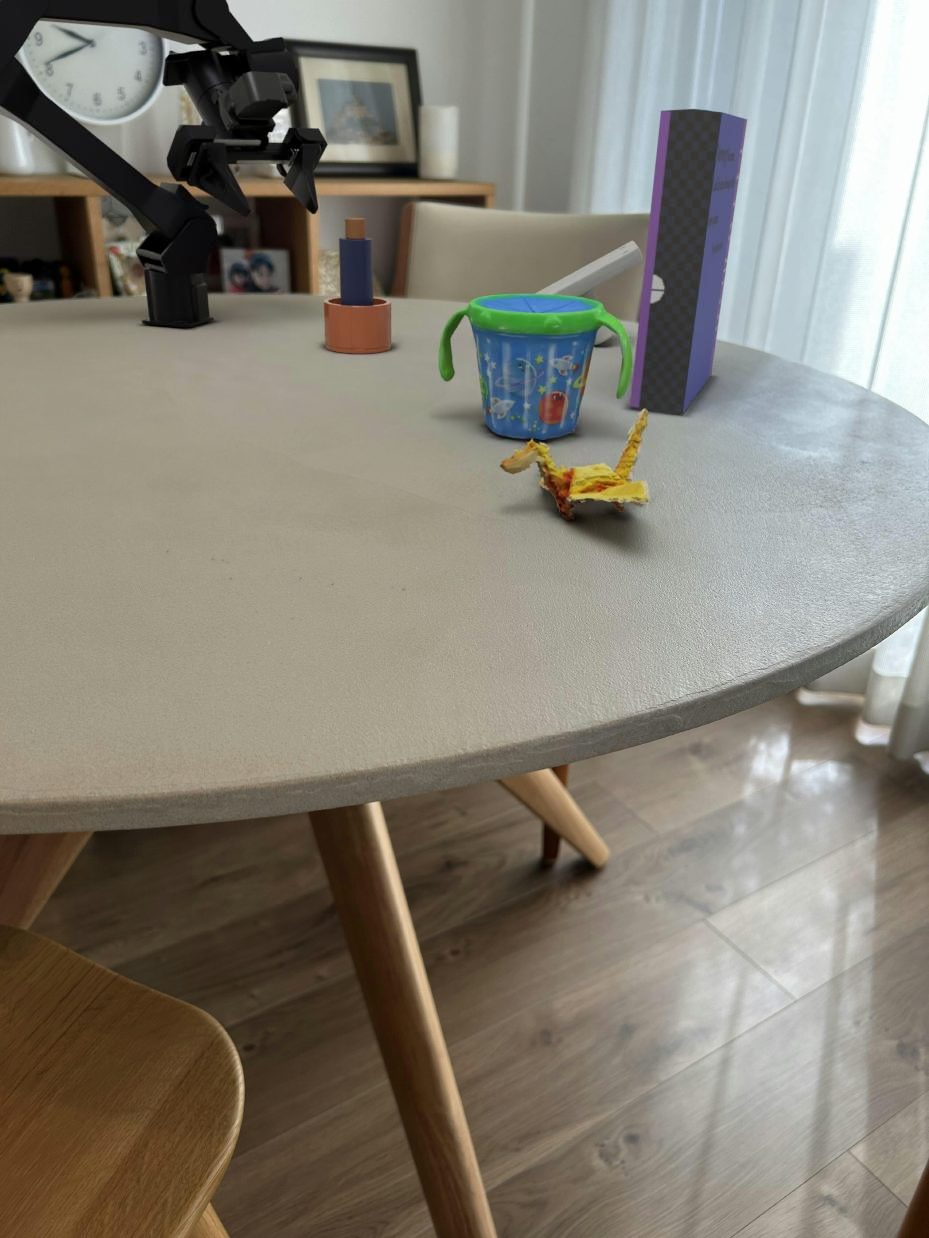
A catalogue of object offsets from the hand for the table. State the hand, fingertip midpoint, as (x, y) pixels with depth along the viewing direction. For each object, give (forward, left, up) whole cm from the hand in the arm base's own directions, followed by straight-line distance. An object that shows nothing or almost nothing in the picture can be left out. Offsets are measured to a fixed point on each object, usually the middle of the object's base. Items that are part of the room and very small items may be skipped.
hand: (283, 213), depth 109 cm
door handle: (+30, +13, -14) cm, 35 cm away
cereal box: (+47, -12, -14) cm, 50 cm away
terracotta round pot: (+11, -4, -13) cm, 18 cm away
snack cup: (+37, -31, -14) cm, 50 cm away
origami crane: (+45, -49, -14) cm, 68 cm away
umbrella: (+10, -4, -13) cm, 17 cm away
